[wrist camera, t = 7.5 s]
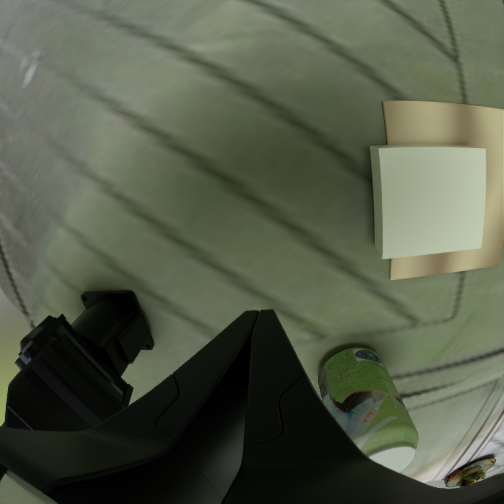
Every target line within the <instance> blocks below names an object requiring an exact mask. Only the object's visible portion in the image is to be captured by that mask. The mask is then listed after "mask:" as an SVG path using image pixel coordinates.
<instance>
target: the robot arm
mask: <svg viewBox="0 0 504 504" xmlns="http://www.w3.org/2000/svg"><path fill="white" fill-rule="evenodd" d="M129 296H130V297H129ZM81 299H82V301H83V303H84V306H85V308H86V310H85V311H84V312H83V313H82V314H81V315H80V316H79V317H78V318H77V319H76V320H75V321H74V322H73V323H72V324H71V325H70V324H69V323H68V321H67V320H66V317H65V316H64V315H63V314H61V315H60V316H59V317H58V318H56V317H55V318H54V317H52V316H50V315H49V316H48V317H47V318H46V319H44V320H43V321H42V322H41V323H40V324H39V325H38V326H37V327H36V328H35V329H34V330H32V331H31V332H30V333H29V334H28V335H27V336H25V337H24V338H23V339H22V340H21V342H20V346H21V352H20V353H19V354H18V355H19V356H20V357H19V358H18V359H17V360H16V362H15V364H16V365H17V366H18V367H19V368H20V372H19V373H18V374H17V375H16V376H15V377H14V379H13V380H12V381H11V382H10V384H9V386H8V394H7V402H6V412H5V422H4V423H3V424H2V426H0V504H504V473H500V474H497V475H494V476H492V477H489V478H486V479H484V480H482V481H479V482H477V483H474V484H472V485H469V486H465V487H462V488H453V489H445V488H437V487H433V486H429V485H427V484H424V483H422V482H419V481H417V480H415V479H412V478H410V477H407V476H405V475H403V474H401V473H398V472H396V471H394V470H392V469H390V468H387V467H385V466H383V465H381V464H379V463H377V462H375V461H373V460H372V459H370V458H369V457H368V456H366V455H365V454H364V453H363V452H362V451H361V450H360V449H359V448H358V446H357V445H356V444H355V443H354V442H353V440H352V439H351V438H350V437H349V435H348V434H347V433H346V432H345V430H344V429H343V428H342V427H341V425H340V424H339V423H338V422H337V420H336V419H335V418H334V416H333V415H332V414H331V413H330V411H329V410H328V409H327V407H326V406H325V404H324V403H323V401H322V400H321V399H320V397H319V395H318V394H317V392H316V390H315V389H314V387H313V385H312V383H311V381H310V379H309V377H308V376H307V374H306V372H305V370H304V368H303V366H302V364H301V362H300V360H299V358H298V356H297V354H296V352H295V350H294V348H293V346H292V344H291V342H290V340H289V338H288V336H287V334H286V332H285V331H284V329H283V327H282V325H281V323H280V321H279V319H278V317H277V315H276V313H275V311H274V310H273V309H267V310H260V312H259V311H258V310H250V311H245V312H243V313H242V314H241V315H240V316H239V317H238V318H237V319H236V320H234V321H233V322H232V323H231V324H230V325H229V326H228V327H226V328H225V329H224V330H223V331H222V332H221V333H219V334H218V335H217V336H216V337H215V338H214V339H212V340H211V341H210V342H209V343H208V344H207V345H205V346H204V347H203V348H202V349H201V350H200V351H198V352H197V353H196V354H195V355H194V356H193V357H191V358H190V359H189V360H188V361H187V362H185V363H184V364H183V365H182V366H181V367H179V368H178V369H177V370H176V371H175V372H173V374H171V375H170V376H168V377H167V378H166V379H165V380H164V381H162V382H161V383H160V384H159V385H157V386H156V387H155V388H153V389H152V390H151V391H149V392H148V393H147V394H145V395H144V396H142V397H141V398H139V399H138V400H136V401H135V402H133V403H132V404H130V405H129V402H130V398H131V395H132V392H133V387H132V386H131V385H130V384H127V383H126V382H125V381H124V380H123V379H122V378H121V376H122V374H123V373H124V371H125V370H126V368H127V366H128V365H129V364H132V363H133V362H134V360H135V358H136V357H137V355H138V354H139V352H140V351H141V350H152V349H153V347H154V343H153V341H152V338H151V336H150V333H149V331H148V328H147V326H146V323H145V321H144V318H143V316H142V313H141V311H140V308H139V305H138V303H137V300H136V297H135V295H134V293H133V292H131V291H106V292H84V293H83V294H82V295H81ZM128 405H129V406H128Z"/></svg>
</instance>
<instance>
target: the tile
mask: <svg viewBox="0 0 504 504" xmlns="http://www.w3.org/2000/svg"><path fill="white" fill-rule="evenodd" d="M370 155H371V166H372V180H373V197H374V224H375V247H376V249H377V251H378V252H379V254H380V256H381V258H382V259H390V258H400V257H409V256H418V255H427V254H436V253H445V252H453V251H462V250H470V249H478V248H481V245H482V237H483V227H484V215H485V199H486V148H481V147H476V146H471V145H443V144H410V145H377V146H370Z"/></svg>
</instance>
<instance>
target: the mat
mask: <svg viewBox="0 0 504 504" xmlns="http://www.w3.org/2000/svg"><path fill="white" fill-rule="evenodd" d="M382 106H383V113H384V121H385V129H386V139H387V145H410V144H443V145H471V146H476V147H481V148H486V199H485V215H484V227H483V237H482V245H481V248H478V249H470V250H462V251H453V252H445V253H436V254H427V255H418V256H409V257H400V258H390V280H397V279H405V278H413V277H421V276H429V275H436V274H444V273H451V272H458V271H465V270H471V269H478V268H484V267H491V266H497V265H499V264H500V259H501V253H502V246H503V239H504V110H503V109H496V108H490V107H482V106H474V105H465V104H455V103H442V102H425V101H382Z"/></svg>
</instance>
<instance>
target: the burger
mask: <svg viewBox="0 0 504 504" xmlns="http://www.w3.org/2000/svg"><path fill="white" fill-rule="evenodd" d="M495 462H496V459H484V460H480V461H478V462H476V463H473V464H471V465H469V466H467V467H466V468H464V469H462V470H460V471H459V469H458V468H457V469H456V470H454V471H453V472H452V473H450V474H451V476H450V479H448V478H447V477H446V478H445V480H444V481H445V484H446V487H455V486H460V488H462V487H465V486H469V485H472V484H474V483H477V480H479V479H480V478H481V479H484V477H485V474H486V473H485V472H486V471H487V470H488V469H490V468H491V467H492V466H493V465H494V463H495Z"/></svg>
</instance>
